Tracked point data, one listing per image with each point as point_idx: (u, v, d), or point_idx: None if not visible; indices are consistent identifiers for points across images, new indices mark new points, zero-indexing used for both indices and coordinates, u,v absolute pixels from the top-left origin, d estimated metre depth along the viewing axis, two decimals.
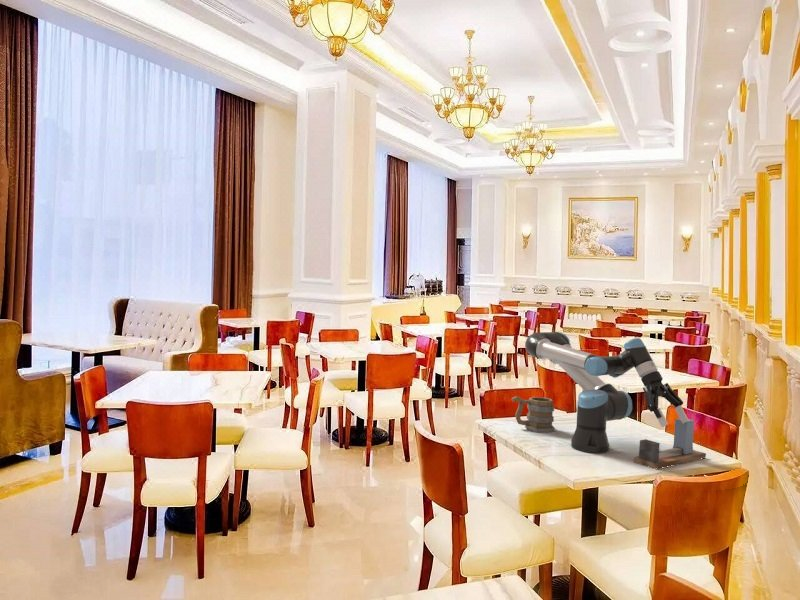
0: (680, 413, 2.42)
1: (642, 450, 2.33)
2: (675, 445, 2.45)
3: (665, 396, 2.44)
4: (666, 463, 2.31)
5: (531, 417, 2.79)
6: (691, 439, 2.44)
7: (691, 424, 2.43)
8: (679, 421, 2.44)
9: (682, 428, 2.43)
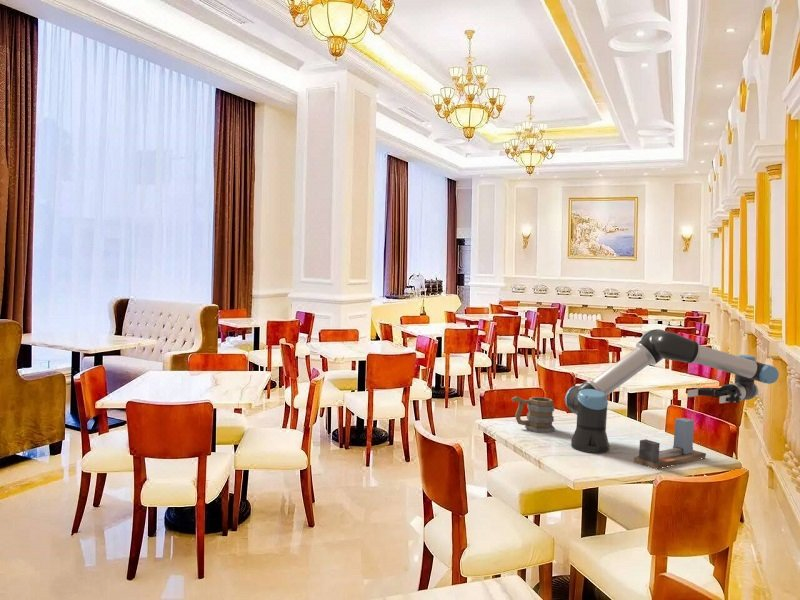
0: (694, 393, 2.59)
1: (642, 450, 2.33)
2: (675, 445, 2.45)
3: (711, 392, 2.60)
4: (666, 463, 2.31)
5: (531, 417, 2.79)
6: (691, 439, 2.44)
7: (691, 424, 2.43)
8: (679, 421, 2.44)
9: (682, 428, 2.43)
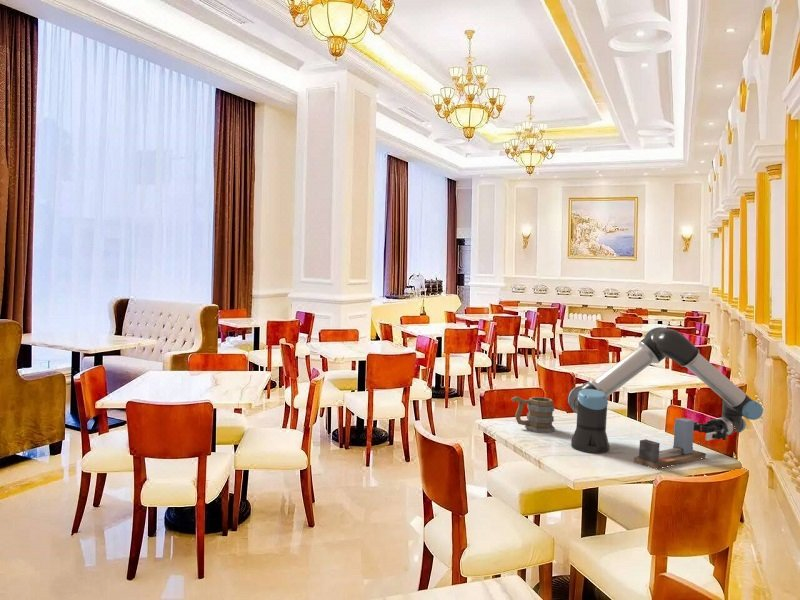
0: None
1: (642, 450, 2.33)
2: (675, 445, 2.45)
3: (698, 427, 2.56)
4: (666, 463, 2.31)
5: (531, 417, 2.79)
6: (691, 439, 2.44)
7: (691, 424, 2.43)
8: (679, 421, 2.44)
9: (682, 428, 2.43)
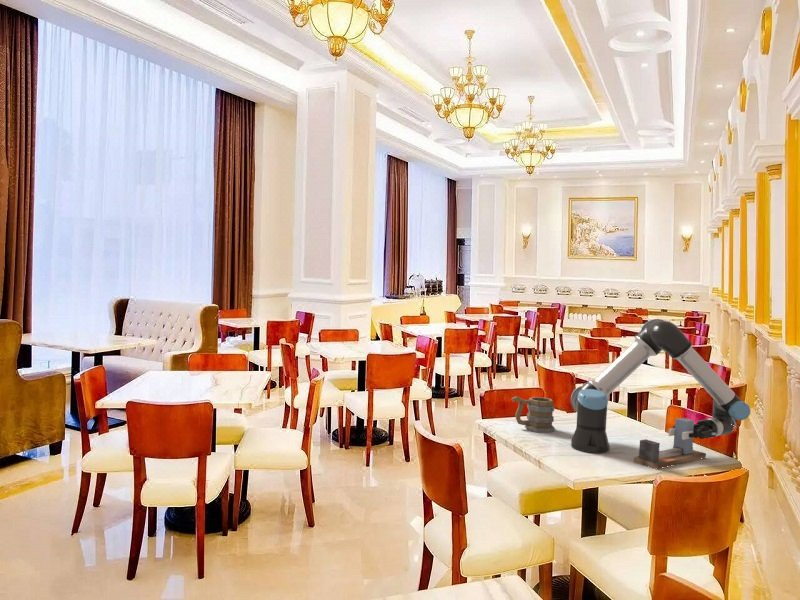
0: None
1: (642, 450, 2.33)
2: (675, 445, 2.45)
3: None
4: (666, 463, 2.31)
5: (531, 417, 2.79)
6: (691, 439, 2.44)
7: (691, 424, 2.43)
8: (679, 421, 2.44)
9: (682, 428, 2.43)
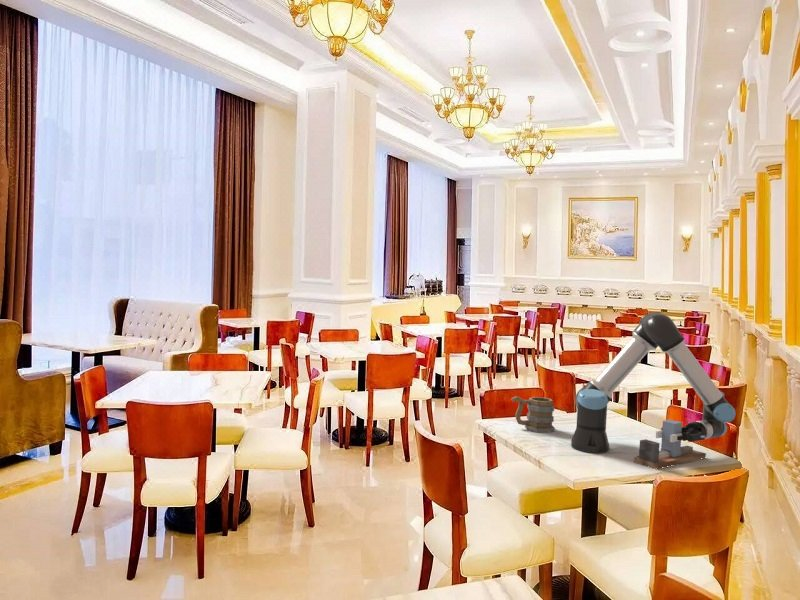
0: None
1: (642, 450, 2.33)
2: (663, 448, 2.41)
3: None
4: (666, 463, 2.31)
5: (531, 417, 2.79)
6: (679, 441, 2.39)
7: (679, 426, 2.39)
8: (667, 423, 2.39)
9: (669, 430, 2.38)
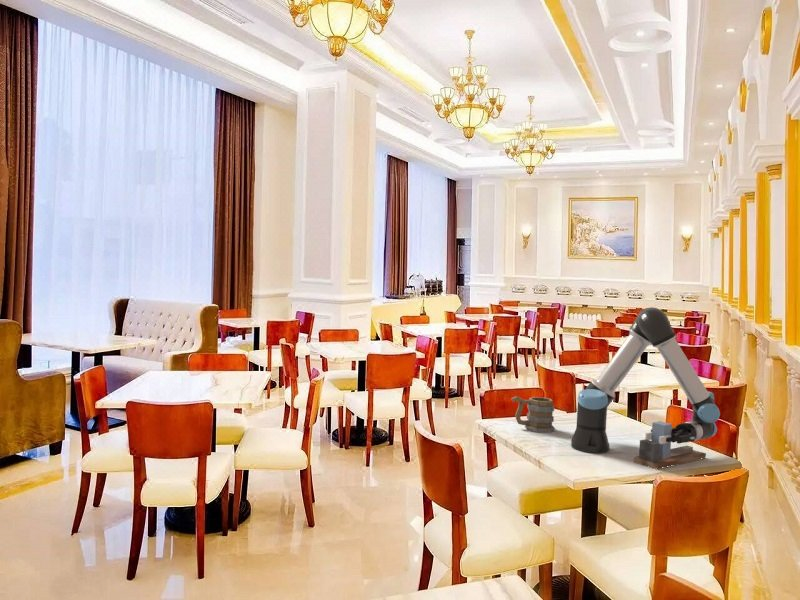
0: None
1: (642, 450, 2.33)
2: None
3: None
4: (666, 463, 2.31)
5: (531, 417, 2.79)
6: (669, 443, 2.36)
7: (669, 428, 2.35)
8: (656, 425, 2.36)
9: (659, 432, 2.35)
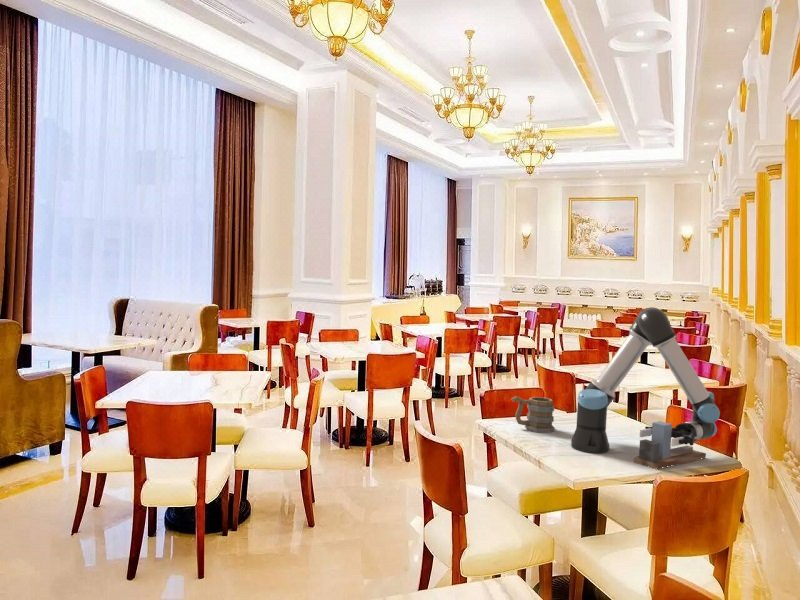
0: (647, 432, 2.42)
1: (642, 450, 2.33)
2: None
3: None
4: (666, 463, 2.31)
5: (531, 417, 2.79)
6: (669, 443, 2.36)
7: (669, 428, 2.35)
8: (656, 425, 2.36)
9: (659, 432, 2.35)
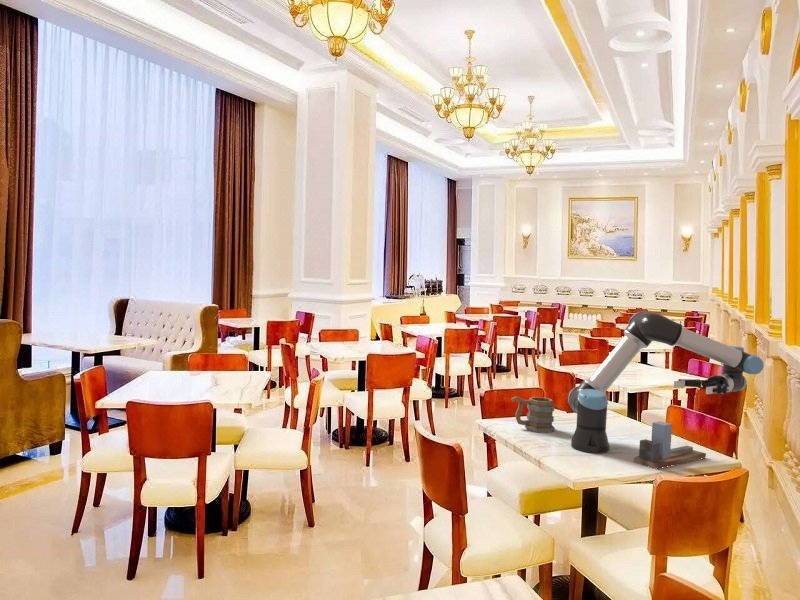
0: (680, 384, 2.53)
1: (642, 450, 2.33)
2: None
3: (698, 383, 2.55)
4: (666, 463, 2.31)
5: (531, 417, 2.79)
6: (669, 443, 2.36)
7: (669, 428, 2.35)
8: (656, 425, 2.36)
9: (659, 432, 2.35)
